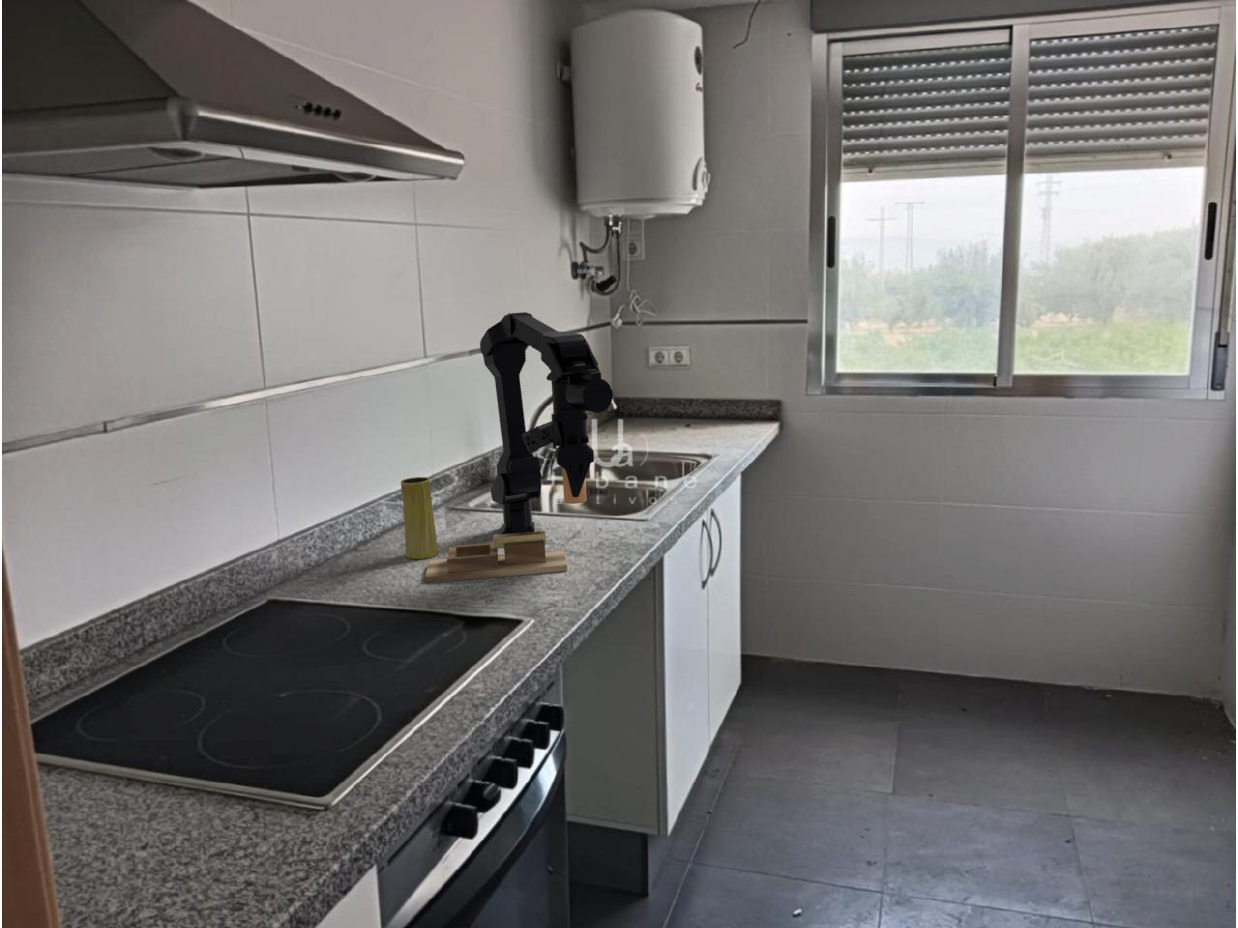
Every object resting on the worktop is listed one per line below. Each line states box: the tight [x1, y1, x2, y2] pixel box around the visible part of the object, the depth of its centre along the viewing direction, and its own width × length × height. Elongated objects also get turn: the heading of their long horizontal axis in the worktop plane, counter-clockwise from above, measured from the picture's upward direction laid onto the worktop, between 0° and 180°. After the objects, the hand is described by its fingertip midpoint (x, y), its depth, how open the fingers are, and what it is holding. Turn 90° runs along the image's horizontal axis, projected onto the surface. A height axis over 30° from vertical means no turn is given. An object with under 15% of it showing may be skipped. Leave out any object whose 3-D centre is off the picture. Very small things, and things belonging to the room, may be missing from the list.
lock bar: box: [492, 530, 547, 550], centre depth 173 cm, size 2×9×2 cm, turn 96°
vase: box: [400, 476, 440, 560], centre depth 183 cm, size 6×6×14 cm
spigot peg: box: [561, 467, 588, 505], centre depth 176 cm, size 4×4×7 cm
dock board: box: [424, 542, 568, 584], centre depth 173 cm, size 10×24×4 cm, turn 96°
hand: (574, 494), depth 176 cm, fingers closed on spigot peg, 4 cm apart
